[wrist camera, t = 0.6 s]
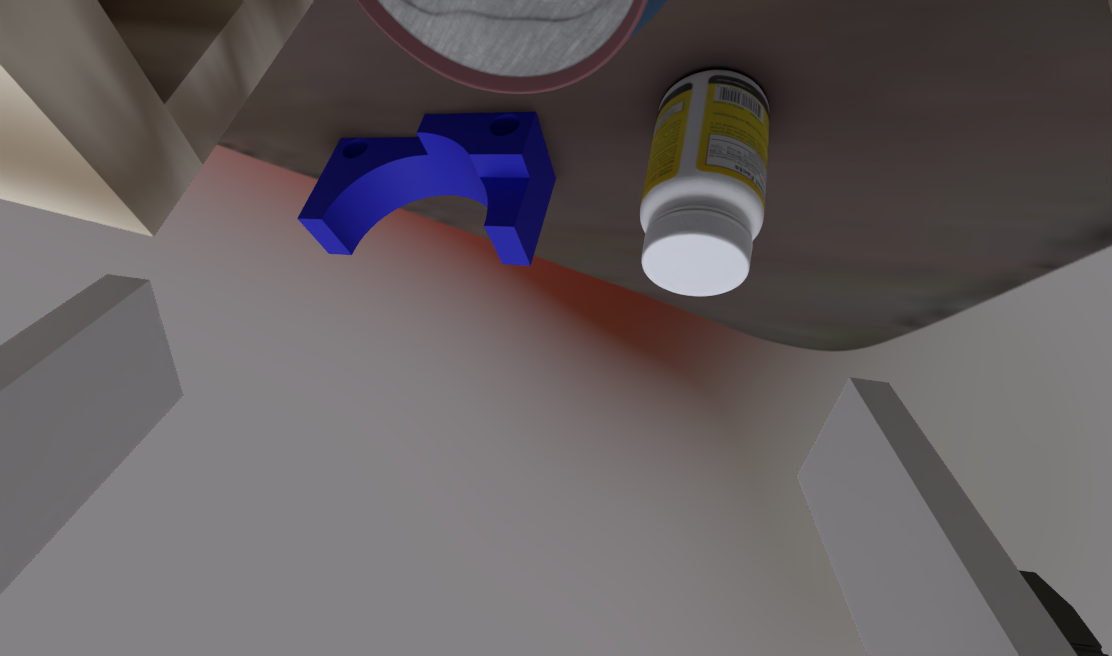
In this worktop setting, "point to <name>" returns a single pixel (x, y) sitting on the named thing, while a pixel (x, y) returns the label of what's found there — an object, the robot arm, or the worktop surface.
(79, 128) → the housing
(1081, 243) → the worktop surface
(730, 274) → the supplement bottle
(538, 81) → the soda can
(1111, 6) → the sugar bowl
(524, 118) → the blue curved cradle
